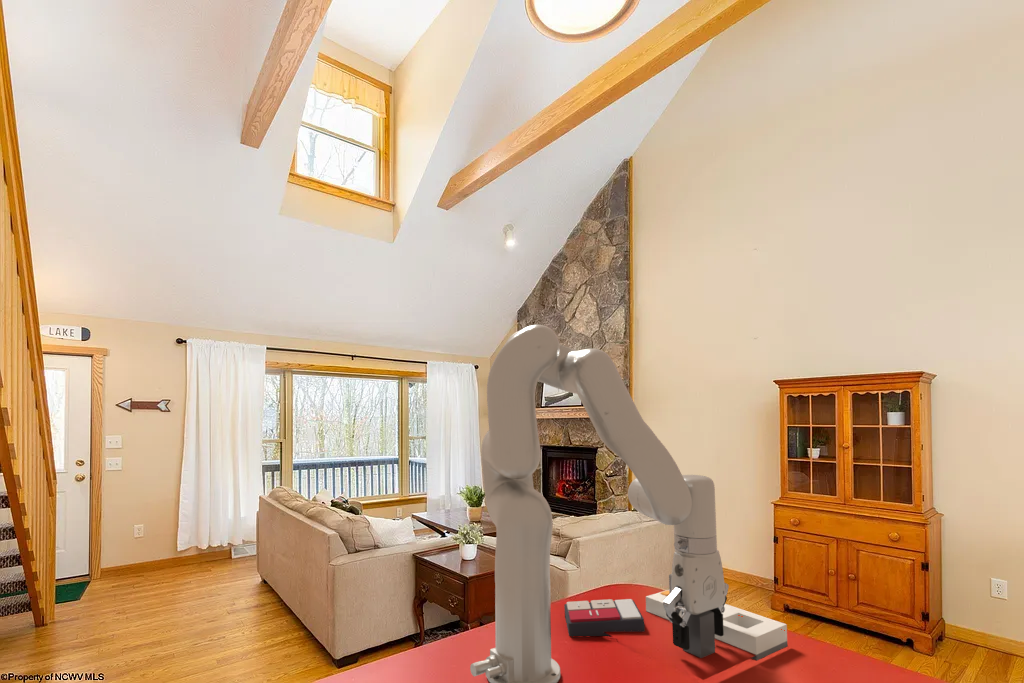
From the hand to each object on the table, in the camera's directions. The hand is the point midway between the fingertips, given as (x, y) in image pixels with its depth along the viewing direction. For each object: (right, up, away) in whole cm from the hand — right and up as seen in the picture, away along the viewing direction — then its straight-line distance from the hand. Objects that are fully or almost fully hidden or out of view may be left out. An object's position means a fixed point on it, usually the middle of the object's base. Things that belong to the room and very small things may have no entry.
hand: (698, 640), depth 107 cm
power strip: (+6, -4, +12) cm, 14 cm away
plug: (0, -3, 0) cm, 3 cm away
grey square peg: (+2, -3, +17) cm, 18 cm away
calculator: (-15, -5, +14) cm, 21 cm away
